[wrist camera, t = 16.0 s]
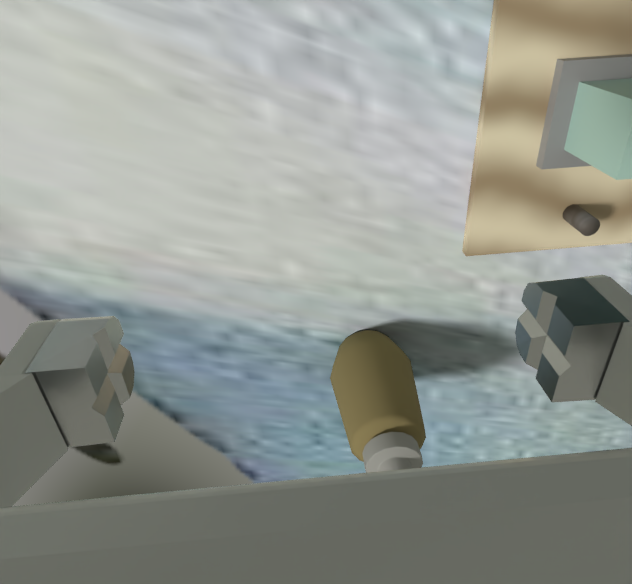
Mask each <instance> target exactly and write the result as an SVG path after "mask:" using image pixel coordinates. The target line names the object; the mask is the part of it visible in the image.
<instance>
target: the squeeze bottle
mask: <svg viewBox="0 0 632 584" xmlns="http://www.w3.org/2000/svg"><path fill="white" fill-rule="evenodd" d="M330 379H331V383H332V386H333V390H334V393H335V397H336V400H337V403H338V407H339V410H340V414H341V417H342V420H343V424H344V427H345V431H346V434H347V437H348V441H349V444H350V448H351V451H352V453H353V454H354V455H355V456H356V457H357V458H358V459H359V460H360V461H363V462H364V465H365V469H366V473H370V472H380V471H391V470H401V469H412V468H421V467H422V464H423V461H422V455H421V452H420V448H421V447H422V445H423V443H424V440H425V438H426V436H425V429H424V424H423V419H422V414H421V409H420V404H419V400H418V395H417V390H416V385H415V381H414V376H413V371H412V366H411V361H410V359H409V358H408V357H407V356H406V354H405V353H404V352H403V351H402V350H401V349H400V348H399V347H398V346H397V345H396V344H395V343H394V342H393V341H392V340H391V339H390V338H389V337H388V336H387V335H385V334H383V333H381V332H378V331H371V330H365V331H360V332H356V333H354V334H352V335H350V336H349V337H347V338H346V339H345V340H344V341H343V342H342V344H341V345H340V346H339V350H338V353H337V356H336V359H335V362H334V365H333V369H332V373H331V377H330Z"/></svg>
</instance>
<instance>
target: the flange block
mask: <svg viewBox="0 0 632 584" xmlns="http://www.w3.org/2000/svg"><path fill="white" fill-rule="evenodd" d="M536 166H537V167H539V168H540V169H555V168H569V167H582V166H593V167H595V168H597V169H598V170H600V171H602V172H603V173H605V174H607V175H609V176H610V177H612V178H614V179H616V180H623V179H632V54H625V55H610V56H595V57H580V58H565V59H557V62H556V67H555V72H554V77H553V82H552V87H551V92H550V97H549V102H548V107H547V112H546V118H545V123H544V128H543V133H542V138H541V143H540V148H539V153H538V158H537V163H536Z"/></svg>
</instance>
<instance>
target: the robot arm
mask: <svg viewBox="0 0 632 584" xmlns="http://www.w3.org/2000/svg"><path fill="white" fill-rule="evenodd" d="M522 302H523V304H524V305H525V307H526V308H527V310H526V311H525V312H524V313H523V314H522V315H521V316H520V317H519V318H518V321H517V326H516V332H515V333H516V342H517V347H518V350H519V353H520V355H521V357H522V358H523V360H524V361H525V363H526V364H528V365H530V366H532V367H534V368H535V369H537V370H538V371H537V375H536V380H537V381H538V383H539V384H540V386H541V387H542V388H543V390H544V391H545V393H546V394H547V396H548V397H549V399H550V400H551V402H564V401H580V400H596V401H595V402H597V403H598V404H600V405H601V406H603V407H604V408H606V409H607V410H609V411H610V412H612V413H613V414H615V415H616V416H618V417H619V418H621V419H622V420H624V421H625V422H627V423H628V424H630V425H631V426H632V295H630V294H629V293H628V292H627V291H626V290H625V289H623V288H622V287H621V286H620V285H619V284H618V283H617V282H615V281H614V280H613V279H612V278H611V277H608V276H605V275H597V276H589V277H580V278H574V279H564V280H554V281H544V282H535V283H528V284H527V286H526V288H525V290H524V293H523V297H522ZM123 335H124V333H123V330H122V327H121V324H120V322H119V320H118V319H117V318H116V317H114V316H107V317H91V318H74V319H63V320H60V319H57V320H46V321H37V322H34V323H31V324H30V325H29V327H28V328H27V329H26V331H25V332H24V333H23V335H22V336H21V337H20V339H19V340H18V342H17V343H16V344H15V346H14V347H13V349H12V350H11V352H10V353H9V354H8V356H7V357H6V358H5V360H4V361H3V363H2V364H1V365H0V584H632V448H626V449H616V450H605V451H594V452H583V453H573V454H562V455H551V456H540V457H530V458H519V459H508V460H497V461H486V462H476V463H465V464H454V465H443V466H433V467H422V468H412V469H401V470H391V471H380V472H370V473H360V474H349V475H339V476H328V477H318V478H307V479H297V480H287V481H276V482H266V483H255V484H245V485H234V486H224V487H213V488H203V489H194V490H193V489H192V490H182V491H171V492H160V493H150V494H141V495H140V494H139V495H129V496H119V497H108V498H97V499H87V500H77V501H66V502H55V503H46V504H45V503H44V504H34V505H23V506H14V507H12V506H13V505H14V503H16V501H17V500H19V499H20V498H21V497H22V495H24V494H25V493H26V491H28V490H29V489H30V487H32V486H33V485H34V484H35V483H36V482H37V480H38V479H39V478H40V477H42V476H43V475H44V474H45V473H46V472H47V470H49V468H50V467H52V466H53V465H54V464H55V463H56V461H58V459H60V458H61V457H62V456H63V454H65V453H66V452H67V450H68V447H75V446H84V445H92V444H101V443H109V442H115V439H116V436H117V434H118V431H119V428H120V425H121V422H122V419H123V416H124V413H123V411H122V408H121V405H122V404H123V403H124V402H125V401H127V400H128V399H129V398H130V396H131V393H132V390H133V386H134V366H133V360H132V357H131V354H130V351H128V350H127V349H126V348H124V347H123V346H122V345H121V344H120V342H121V339H122V337H123Z"/></svg>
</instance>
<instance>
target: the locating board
mask: <svg viewBox="0 0 632 584" xmlns="http://www.w3.org/2000/svg"><path fill="white" fill-rule="evenodd" d="M625 54H632V0H494V5H493V13H492V21H491V29H490V36H489V44H488V52H487V60H486V68H485V76H484V84H483V92H482V100H481V108H480V116H479V124H478V131H477V139H476V147H475V155H474V163H473V171H472V179H471V187H470V195H469V203H468V211H467V218H466V226H465V234H464V242H463V250H462V251H463V253H464V254H465V255H466V256H474V255H486V254H498V253H511V252H523V251H535V250H548V249H560V248H572V247H585V246H597V245H609V244H622V243H632V179H623V180H616V179H614V178H612V177H610V176H609V175H607V174H605V173H603V172H602V171H600V170H598V169H597V168H595V167H593V166H582V167H569V168H555V169H540V168H539V167H537V166H536V163H537V158H538V153H539V148H540V143H541V138H542V133H543V128H544V123H545V118H546V112H547V107H548V102H549V97H550V92H551V87H552V82H553V77H554V72H555V67H556V62H557V59H565V58H580V57H595V56H610V55H625Z"/></svg>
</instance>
